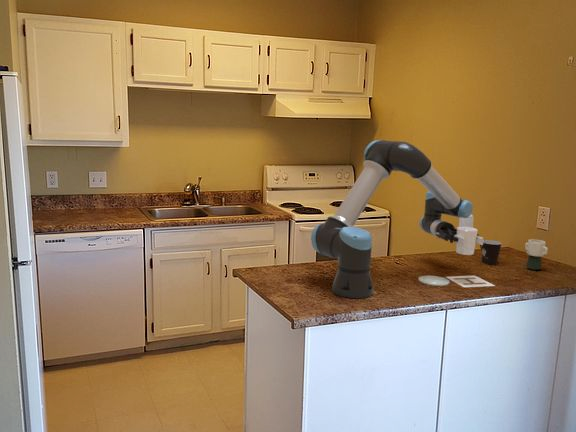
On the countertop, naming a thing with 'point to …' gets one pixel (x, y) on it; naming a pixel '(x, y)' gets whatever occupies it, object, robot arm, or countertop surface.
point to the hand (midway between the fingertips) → (473, 241)
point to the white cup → (466, 240)
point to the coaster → (434, 280)
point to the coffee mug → (490, 252)
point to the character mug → (535, 253)
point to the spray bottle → (466, 222)
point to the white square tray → (469, 281)
